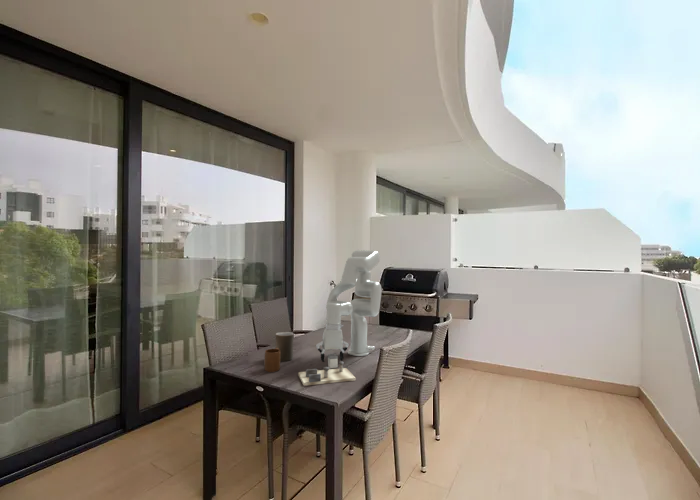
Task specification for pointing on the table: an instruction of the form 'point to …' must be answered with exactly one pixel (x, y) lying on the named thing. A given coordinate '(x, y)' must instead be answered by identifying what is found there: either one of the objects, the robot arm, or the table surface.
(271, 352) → the mug
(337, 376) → the board
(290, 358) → the pillar candle
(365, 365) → the table surface
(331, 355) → the grey rectangular block
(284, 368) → the table surface
